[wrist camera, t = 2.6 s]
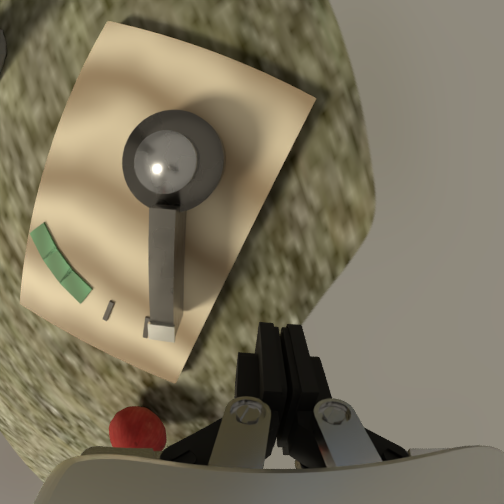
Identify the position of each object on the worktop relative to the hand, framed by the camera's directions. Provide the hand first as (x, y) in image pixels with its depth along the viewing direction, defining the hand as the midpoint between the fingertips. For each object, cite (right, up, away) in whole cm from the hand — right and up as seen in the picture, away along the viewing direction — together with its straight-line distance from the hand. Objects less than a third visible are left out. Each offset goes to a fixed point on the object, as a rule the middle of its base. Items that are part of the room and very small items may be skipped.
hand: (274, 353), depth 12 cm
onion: (-12, -13, +17) cm, 25 cm away
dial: (-6, +6, +9) cm, 13 cm away
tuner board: (-10, +7, +11) cm, 16 cm away
